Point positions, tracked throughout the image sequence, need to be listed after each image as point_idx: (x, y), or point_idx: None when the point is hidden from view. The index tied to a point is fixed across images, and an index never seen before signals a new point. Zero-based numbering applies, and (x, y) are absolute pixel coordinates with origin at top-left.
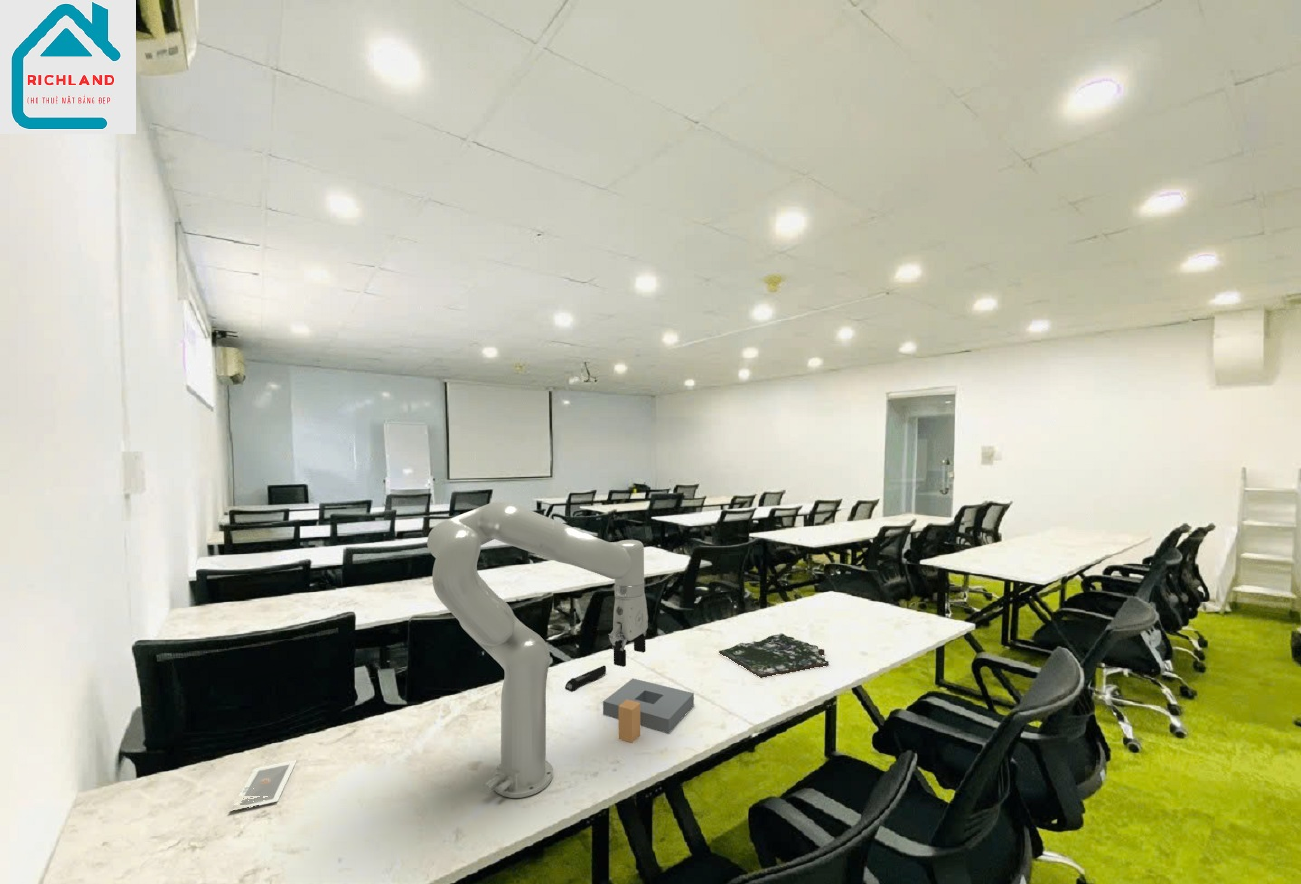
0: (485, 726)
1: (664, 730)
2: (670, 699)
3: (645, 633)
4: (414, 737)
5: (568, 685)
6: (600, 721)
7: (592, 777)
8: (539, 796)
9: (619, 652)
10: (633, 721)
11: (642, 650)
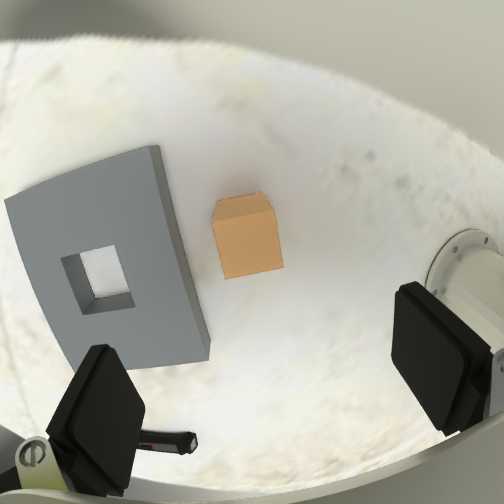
0: (374, 427)
1: (160, 159)
2: (62, 224)
3: (27, 452)
4: (425, 440)
5: (193, 446)
6: (238, 323)
7: (412, 179)
8: (478, 222)
9: (490, 360)
10: (260, 203)
11: (112, 362)
